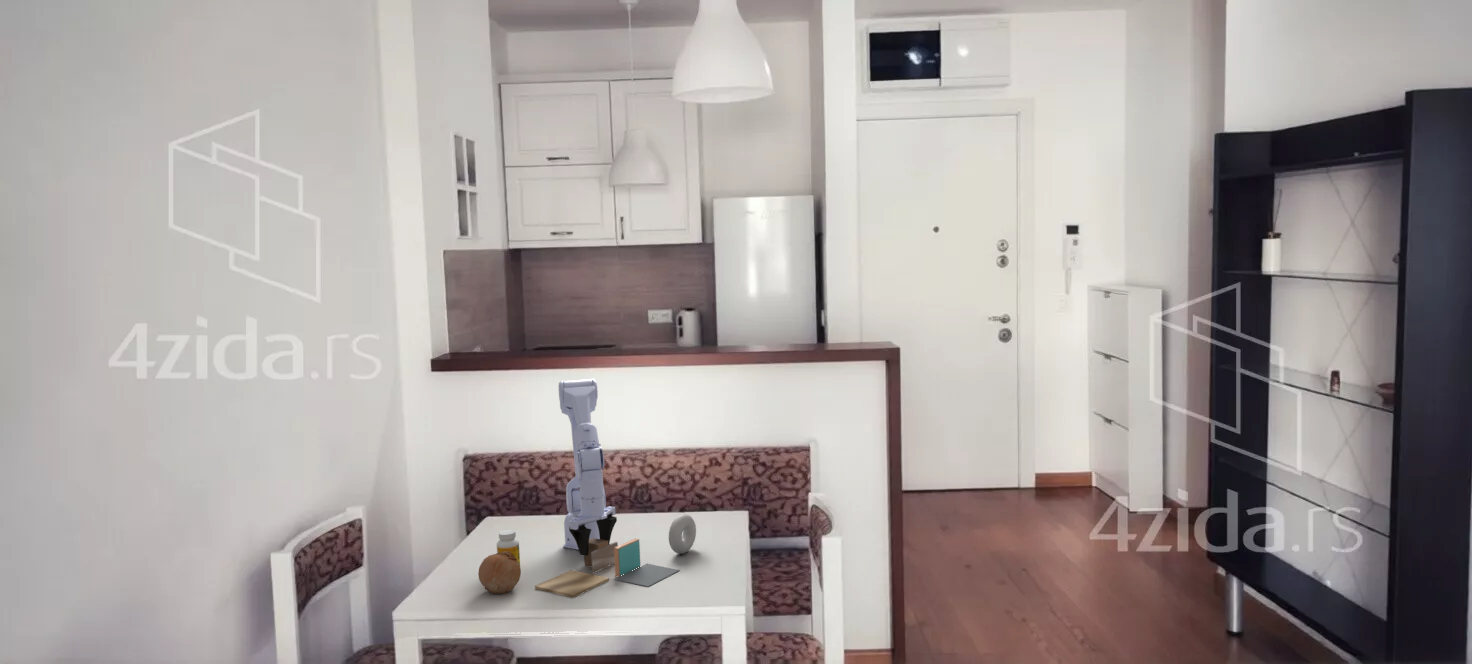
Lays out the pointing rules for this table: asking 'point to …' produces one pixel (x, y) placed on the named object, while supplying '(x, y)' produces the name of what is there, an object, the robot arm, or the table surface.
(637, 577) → the slate mat
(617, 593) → the table surface
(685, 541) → the donut
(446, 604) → the table surface
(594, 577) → the oak board
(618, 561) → the tile
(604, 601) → the table surface
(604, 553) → the brown grey t-shaped block
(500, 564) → the onion
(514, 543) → the supplement bottle
